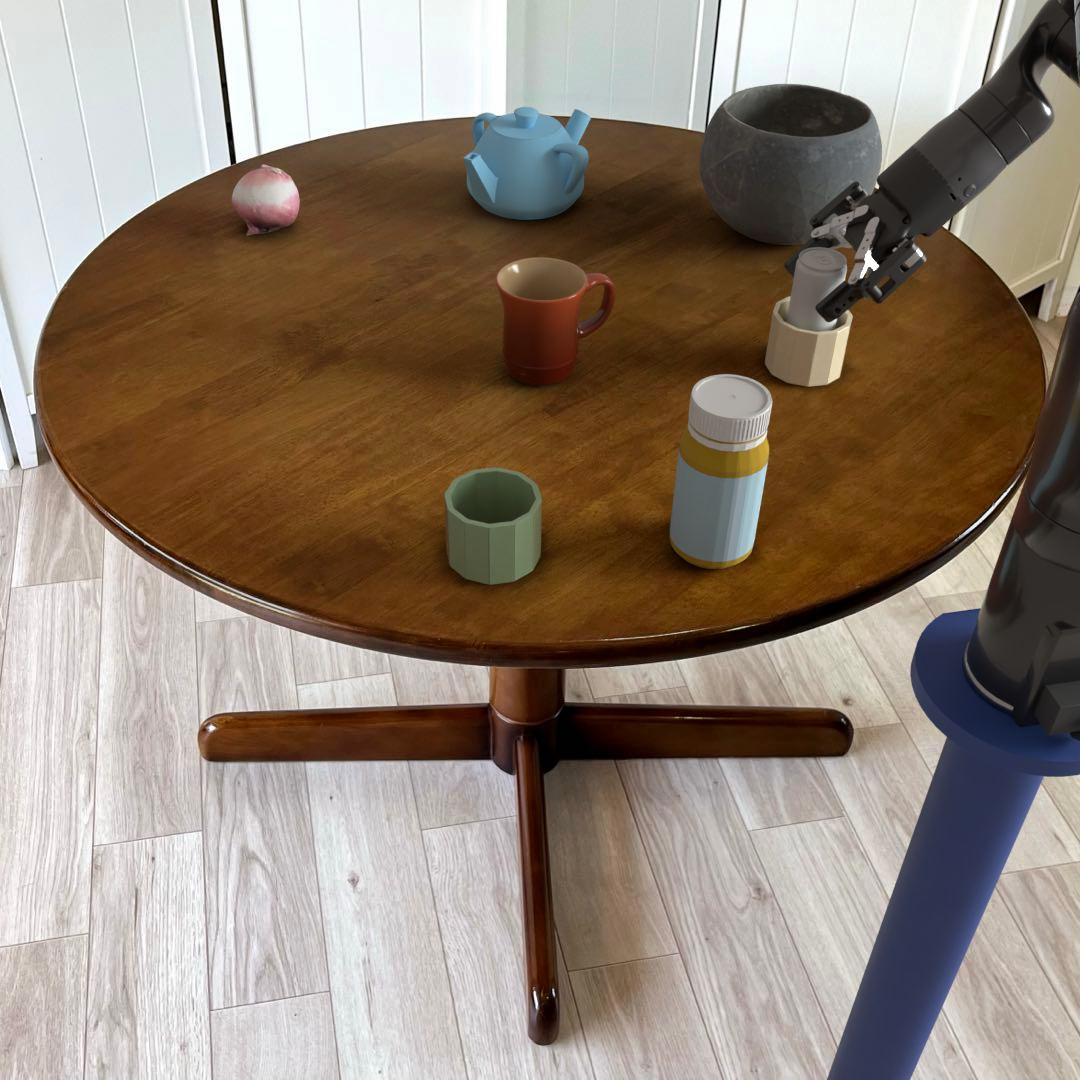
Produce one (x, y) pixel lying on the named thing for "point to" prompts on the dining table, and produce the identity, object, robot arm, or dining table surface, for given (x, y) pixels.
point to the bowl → (786, 158)
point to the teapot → (527, 163)
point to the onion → (266, 199)
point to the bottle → (721, 471)
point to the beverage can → (814, 287)
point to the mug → (546, 317)
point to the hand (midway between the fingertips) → (805, 293)
